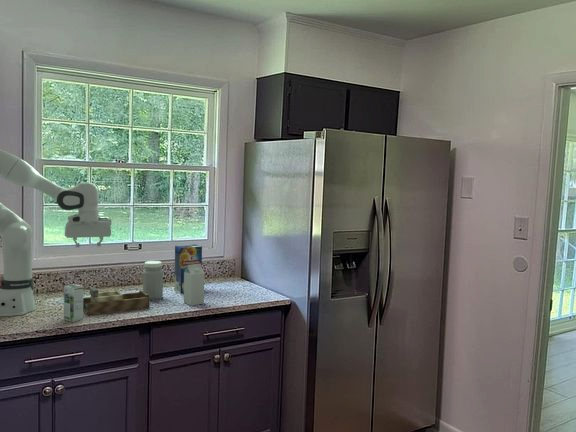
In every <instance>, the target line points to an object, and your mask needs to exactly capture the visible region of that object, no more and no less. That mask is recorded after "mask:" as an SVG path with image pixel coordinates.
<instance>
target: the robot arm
mask: <svg viewBox="0 0 576 432" xmlns="http://www.w3.org/2000/svg"><path fill="white" fill-rule="evenodd" d="M0 177H1V178H2V179H4V180H6V181H8V182H10V183H12V184H14V185H18V186H20V187H25V188H26V187H27V188H32V189H35V190H37V191H39V192H42V193H43V194H45V195H47V196H49V197H51V198H52V199H53V200H54V201H55V202H56V204H57V205H58V207H59V208H60V209H61V210H64V211H74V210H78V211H77V213H74V214H72V215H69V216H67V222H66V223H65V227H64V236H65V238H67V239H72V240H73V242H74V244H75V248H80V243H79V242H77V241H78V239H79V238H99V241H98V242H96V247H98V248H99V247H101V246H102V242H103V240H104V238H107V237H109V238H110V237H111V236H112V228H111V226H112V219H111V218H110V217H108V216H99V213H100V212H99V206H98V205H99V201H100V195H99V188H98V186H97V185H96V184H94V183H91V182H87V181H85V182H84V181H80V183H78V184H77V185H74V186H71V187H65V186H61V185H58V184H57V183H55V182H54V181H51V180H50V179H47V178H46V177H44V176H43V175H41V174H40V172H38V171H37V170H36V169H35V168H34V167H33V166H32V165H31V164H30V163H28V162H27V161H25V160H24V159H22V158H20V157H18V156H17V155H15V154H12V153H11V152H8V151H6V150H3V149H0ZM0 237H1V251H2V260H3V278H2V279H1V278H0V317H8V316H9V317H10V316H12V317H13V316H22V315H26V314H27V313H30V312H33V311H35V310H37V305H36V301H35V297H34V291H33V290H34V277H33V259H32V247H31V246H32V245H31V240H32V237H33V229H32V227H31V225H30V224H29V223H28V222H26V221H25V220H24V219H23V218H22V217H20V216H19V215H17V214H16V213H15V212H14V211H12V210H11V209H9V208H8V207H7V206H6V205H4V204H3V203H2V202H1V201H0Z"/></svg>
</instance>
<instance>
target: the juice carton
mask: <svg viewBox="0 0 576 432" xmlns="http://www.w3.org/2000/svg"><path fill="white" fill-rule="evenodd" d="M202 262H203V245H198V244H184V245H183V244H182V245H175V246H174V292H176V293H178V294H180V295H184V272H185V270H186V269H187V268H188V265H193V264H201V267H202V268H203V264H202Z"/></svg>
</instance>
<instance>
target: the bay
mask: <svg viewBox="0 0 576 432" xmlns="http://www.w3.org/2000/svg"><path fill="white" fill-rule="evenodd" d="M122 294H123V300H116V301H107V302H97V303H91V296H89V297H83V313H85V314H86V315H87V316H89V317H90V316H96V315H97V316H98V315H103V314H111V313H119V312H128V311H138V310H144V309H145V308H146V309H149V308H150V300H149V295H148V294H147V293H145V292H144V291H143V289H142V290H139V291H136V292H135V291H134V292H126V293H122Z"/></svg>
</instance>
